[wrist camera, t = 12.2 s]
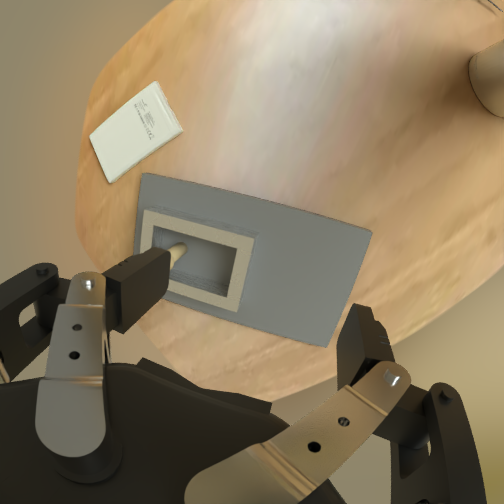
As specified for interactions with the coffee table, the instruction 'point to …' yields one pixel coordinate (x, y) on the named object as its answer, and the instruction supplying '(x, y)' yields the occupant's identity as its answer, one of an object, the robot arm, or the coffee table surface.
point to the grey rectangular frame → (208, 230)
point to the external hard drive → (134, 132)
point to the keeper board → (263, 258)
